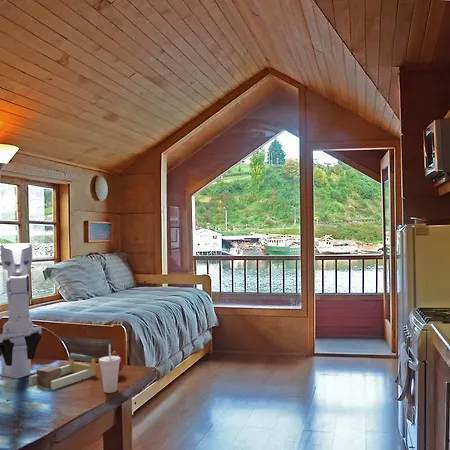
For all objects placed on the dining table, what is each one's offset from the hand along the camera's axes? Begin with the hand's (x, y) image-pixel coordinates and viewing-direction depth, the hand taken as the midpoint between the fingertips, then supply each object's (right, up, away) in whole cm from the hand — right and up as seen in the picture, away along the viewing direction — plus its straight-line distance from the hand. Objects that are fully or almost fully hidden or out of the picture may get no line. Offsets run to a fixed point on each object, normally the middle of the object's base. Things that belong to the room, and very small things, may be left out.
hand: (19, 362), depth 155 cm
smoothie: (+27, -9, +1) cm, 28 cm away
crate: (+6, -9, +9) cm, 14 cm away
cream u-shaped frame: (+8, -9, +13) cm, 18 cm away
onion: (+25, -9, +16) cm, 31 cm away
